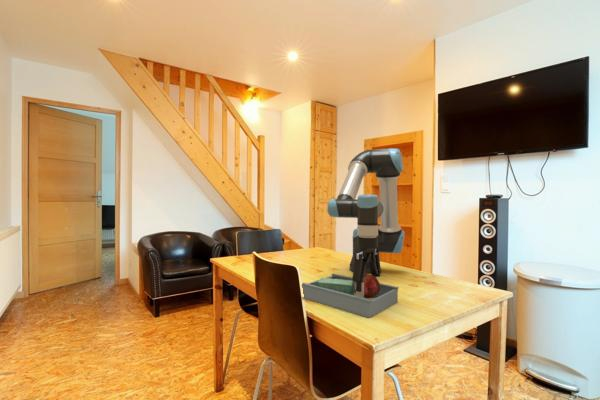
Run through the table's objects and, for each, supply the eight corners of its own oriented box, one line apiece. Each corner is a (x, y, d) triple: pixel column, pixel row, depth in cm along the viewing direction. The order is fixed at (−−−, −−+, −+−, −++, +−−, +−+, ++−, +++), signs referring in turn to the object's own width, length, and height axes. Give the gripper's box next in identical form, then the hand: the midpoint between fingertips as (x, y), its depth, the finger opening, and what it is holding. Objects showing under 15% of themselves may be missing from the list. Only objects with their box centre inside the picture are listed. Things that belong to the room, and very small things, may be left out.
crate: (333, 286, 139) (333, 273, 139) (398, 302, 119) (398, 287, 119) (301, 297, 123) (301, 283, 123) (369, 318, 103) (369, 301, 103)
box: (352, 304, 116) (352, 284, 116) (316, 301, 120) (316, 281, 120) (354, 298, 123) (354, 279, 123) (321, 295, 127) (320, 277, 127)
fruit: (382, 295, 118) (382, 269, 118) (376, 303, 109) (376, 275, 109) (358, 292, 122) (359, 266, 122) (351, 299, 114) (351, 271, 113)
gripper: (373, 232, 126) (372, 288, 126) (342, 238, 110) (341, 301, 110) (390, 234, 121) (390, 292, 121) (360, 240, 105) (360, 307, 105)
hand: (367, 296), depth 116 cm, fingers closed on fruit, 9 cm apart
